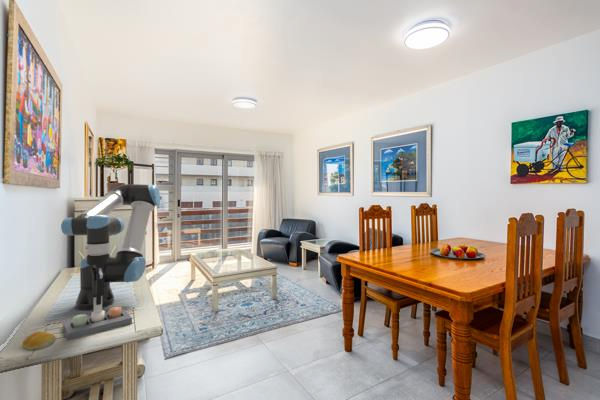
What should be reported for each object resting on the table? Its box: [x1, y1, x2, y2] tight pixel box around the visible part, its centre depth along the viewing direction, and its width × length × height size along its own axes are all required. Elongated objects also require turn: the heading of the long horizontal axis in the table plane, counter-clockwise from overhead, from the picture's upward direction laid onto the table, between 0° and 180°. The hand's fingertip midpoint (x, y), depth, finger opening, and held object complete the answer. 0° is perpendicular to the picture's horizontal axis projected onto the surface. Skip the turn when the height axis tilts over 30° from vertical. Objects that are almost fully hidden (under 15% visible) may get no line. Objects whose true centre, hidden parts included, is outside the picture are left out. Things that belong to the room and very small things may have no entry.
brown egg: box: [108, 306, 122, 319], centre depth 125 cm, size 4×4×4 cm
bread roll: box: [22, 330, 56, 351], centre depth 106 cm, size 8×9×4 cm
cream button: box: [90, 309, 106, 323], centre depth 121 cm, size 4×4×4 cm
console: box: [62, 307, 133, 341], centre depth 121 cm, size 14×21×2 cm, turn 134°
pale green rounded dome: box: [72, 313, 88, 328], centre depth 117 cm, size 4×4×4 cm
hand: (97, 311), depth 121 cm, fingers closed
